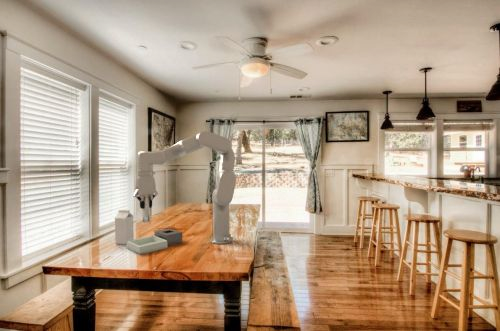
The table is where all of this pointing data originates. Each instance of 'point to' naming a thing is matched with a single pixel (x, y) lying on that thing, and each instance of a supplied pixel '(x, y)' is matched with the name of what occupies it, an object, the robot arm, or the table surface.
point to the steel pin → (146, 209)
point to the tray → (146, 244)
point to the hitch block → (169, 236)
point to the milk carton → (123, 227)
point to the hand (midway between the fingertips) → (146, 207)
